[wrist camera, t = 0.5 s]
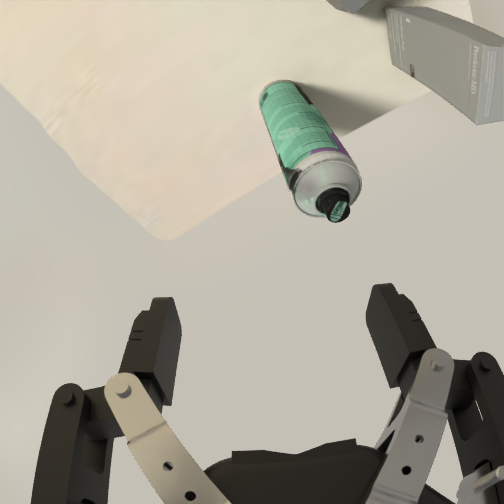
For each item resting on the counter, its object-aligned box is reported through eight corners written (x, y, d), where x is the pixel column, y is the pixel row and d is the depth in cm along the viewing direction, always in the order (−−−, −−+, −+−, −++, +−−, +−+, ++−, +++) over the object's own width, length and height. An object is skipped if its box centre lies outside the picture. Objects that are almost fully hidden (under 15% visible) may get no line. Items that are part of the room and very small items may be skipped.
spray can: (263, 124, 35) (302, 249, 22) (254, 84, 31) (294, 191, 18) (306, 116, 34) (372, 232, 22) (301, 76, 30) (378, 174, 17)
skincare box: (382, 6, 23) (477, 38, 13) (430, 6, 22) (527, 45, 12) (390, 68, 29) (472, 129, 19) (434, 64, 28) (519, 123, 18)
